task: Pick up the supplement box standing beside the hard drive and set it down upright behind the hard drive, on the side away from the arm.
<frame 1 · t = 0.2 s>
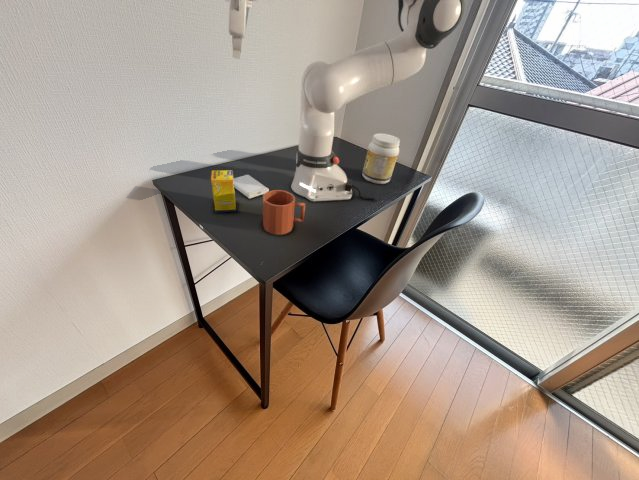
hand: (236, 55, 72), 38 cm above the table, tool pointing down, fingers open, 8 cm apart
supplement box: (225, 207, 84), on the table
supplement tub: (375, 178, 115), on the table
mug: (278, 225, 80), on the table
hard drive: (248, 188, 95), on the table
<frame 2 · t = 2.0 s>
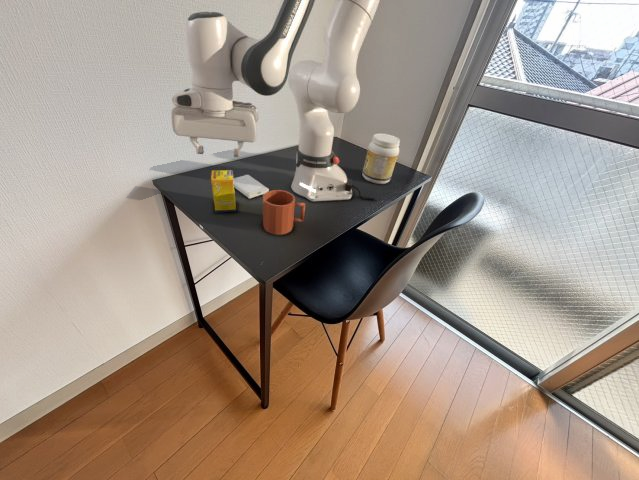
hand: (218, 154, 73), 17 cm above the table, tool pointing down, fingers open, 8 cm apart
nothing on the table moved.
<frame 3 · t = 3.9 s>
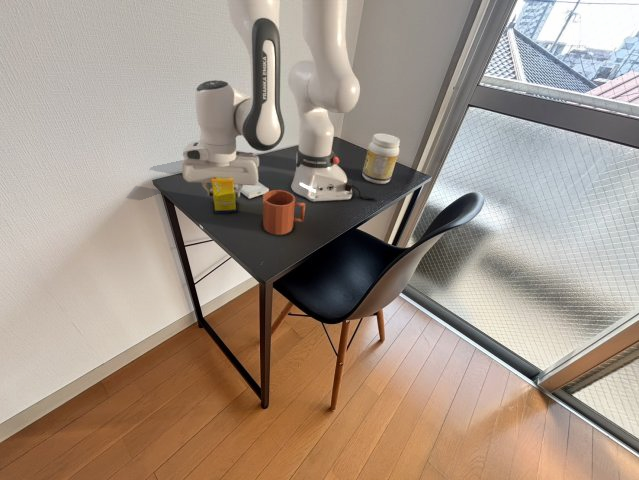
hand: (224, 195, 81), 4 cm above the table, tool pointing down, fingers closed on supplement box, 6 cm apart
supplement box: (225, 207, 84), on the table, touching gripper
everything else where it was.
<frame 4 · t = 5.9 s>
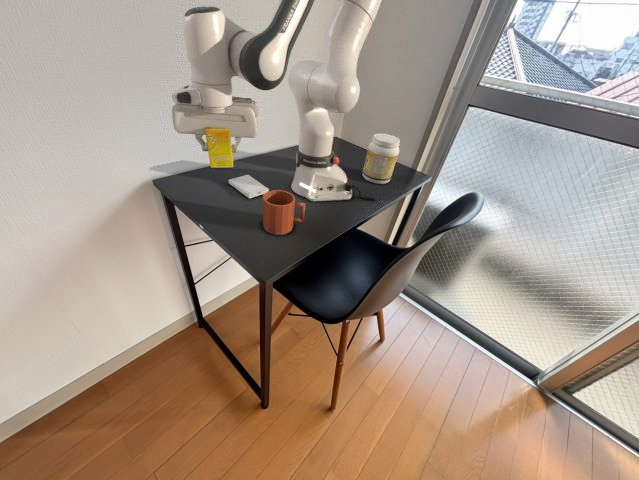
hand: (220, 151, 74), 17 cm above the table, tool pointing down, fingers closed on supplement box, 6 cm apart
supplement box: (222, 166, 76), point 13 cm above the table, touching gripper
everything else where it was.
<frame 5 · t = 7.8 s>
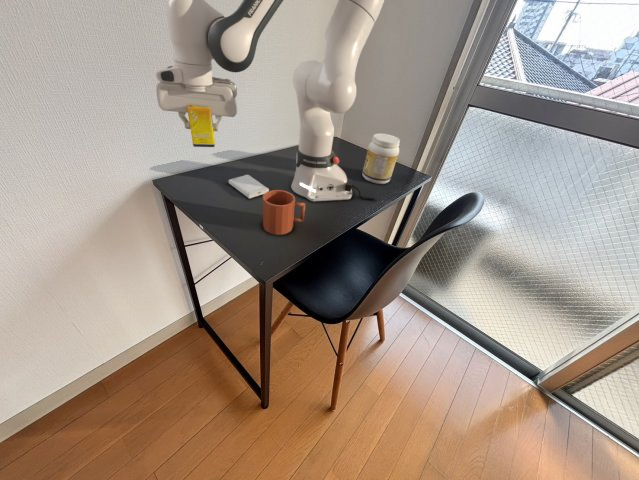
hand: (202, 129, 80), 19 cm above the table, tool pointing down, fingers closed on supplement box, 6 cm apart
supplement box: (204, 144, 82), point 15 cm above the table, touching gripper
everything else where it was.
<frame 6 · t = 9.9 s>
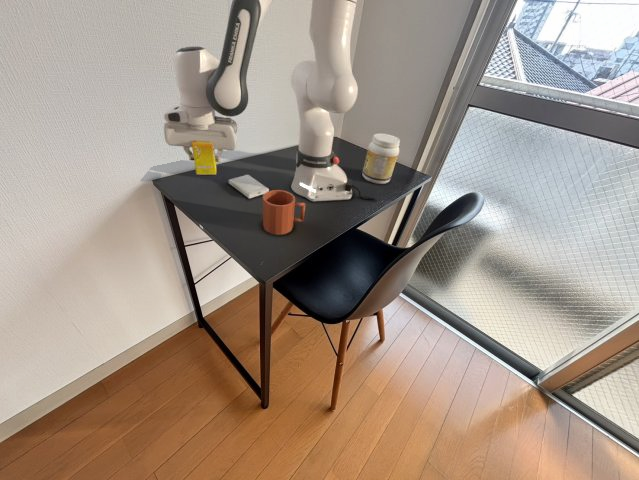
hand: (205, 160, 87), 9 cm above the table, tool pointing down, fingers closed on supplement box, 6 cm apart
supplement box: (207, 173, 89), point 5 cm above the table, touching gripper
everything else where it was.
when the fingers open (4 cm above the table, at t = 11.7 s): supplement box stays where it is, on the table.
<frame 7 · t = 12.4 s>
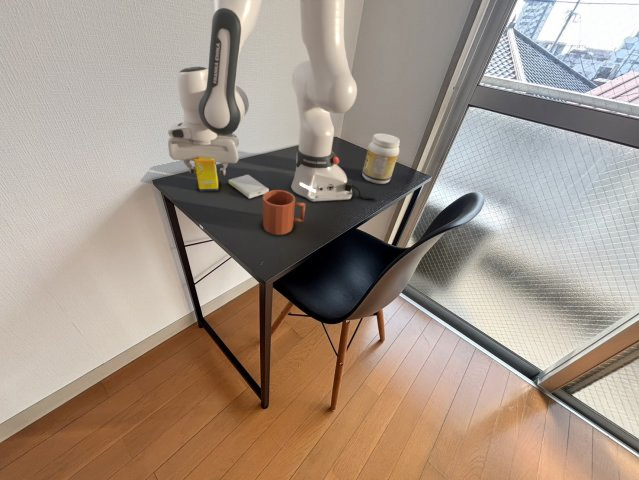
hand: (208, 173, 90), 5 cm above the table, tool pointing down, fingers open, 8 cm apart
supplement box: (209, 187, 92), on the table
everything else where it was.
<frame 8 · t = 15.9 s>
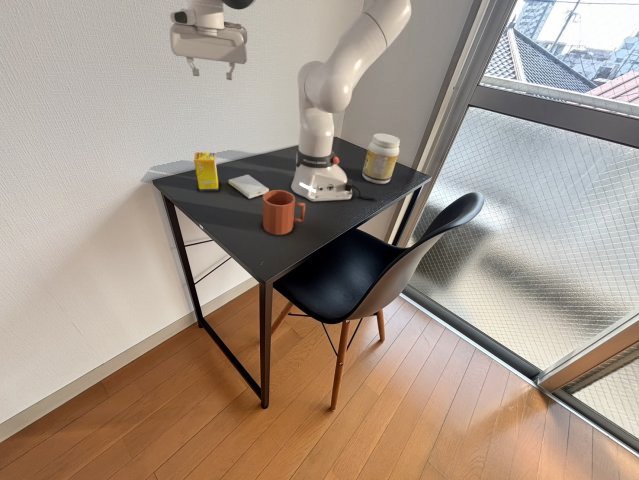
hand: (213, 77, 82), 31 cm above the table, tool pointing down, fingers open, 8 cm apart
nothing on the table moved.
at the end: supplement box inside the target area on the table beside the hard drive (0.8 cm from its centre), on the table; supplement box tilted 0°; hard drive moved 0.2 cm from its start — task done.
